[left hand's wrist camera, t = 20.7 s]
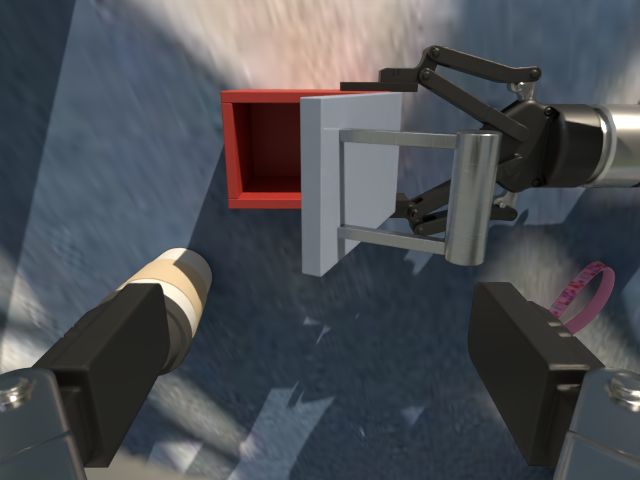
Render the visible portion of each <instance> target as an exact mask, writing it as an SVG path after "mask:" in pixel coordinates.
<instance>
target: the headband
mask: <svg viewBox="0 0 640 480" xmlns="http://www.w3.org/2000/svg"><path fill="white" fill-rule="evenodd" d="M602 270H603V277H602V281H601V284H600V286H599V288H598V290H597V292H596V294H595V296H594V297H593V299H592V300H591V301H590V303H589V304H588V305H587V306H586V307H585V308H584V309H583V310H582V311H581V312H580V313H579V314H578V315H577V316H576V317H575V318H573V319H572V320H571V321H569V322H568V323H566V324H565V325H563V326H565V327H566V328H567V329H568V330H569V331H570V332H571V333H572V334H574V333H576V332H578V331H579V330H580V329H582V328H583V327H584V326H586V325H587V324H588V323H589V322H590V321H591V320H592V319H593V318H594V317H595V316H596V315H597V314H598V313H599V312H600V311H601V309H602V308H603V306H604V305H605V303H606V302H607V300H608V298H609V296H610V294H611V292H612V289H613V286H614V282H615V274H614V271H613V270H612V269H611V268H609V267H608V266H606V265H605V264H603V263H602V262H600V261H594V262H592V263H590V264H589V265H587V266H586V267H585V268H584V269H583V270H582V271H581V272H580V273H579V274H578V275H577V276H576V277H575V278H574V279H573V280H572V282H571V283H570V284H569V285H568V286H567V288H566V289H565V290H564V291H563V292H562V294H561V295H560V296H559V298H558V299H557V300H556V301H555V303H554V304H553V305H552V307H551V308H550V309H549V311H550V312H551V313H552V314H553V315H554V316H555V317H556V318H557V319H558V318H559V317H560V315H561V314H562V313H563V311H564V310H565V309H566V308H567V306H568V305H569V304H570V303H571V301H572V300H573V299H574V298H575V296H576V295H577V294H578V293H579V292H580V291H581V289H582V288H583V287H584V286H585V285H586V284H587V283H588V282H589V281H590V280H591V279H592V278H593V277H594V276H595V275H596V274H598V273H599V272H601V271H602Z"/></svg>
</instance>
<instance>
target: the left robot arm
mask: <svg viewBox="0 0 640 480" xmlns="http://www.w3.org/2000/svg"><path fill="white" fill-rule="evenodd" d="M169 349H170V334H169V327H168V320H167V313H166V305H165V298H164V292H163V288H162V286H161V284H159V283H128V284H126V285H125V286H124V287H123V288H122V289H121V290H120V291H119V293H118V294H117V295H116V296H115V297H114V298H113V299H112V300H111V301H110V302H105V303H103V304H101V305H99V306H97V307H96V308H94V309H92V310H90V311H88V312H87V313H86V314H85V315H84V316H83V317H82V318H81V319H80V320H79V321H77V322H76V323H75V324H74V327H71V328H70V329H69V330H68V331H67V332H66V333H65V334H64V338H60V339H59V340H58V341H57V342H56V343H55V344H54V345H53V346H52V347H51V348H50V349H49V350H48V351H47V352H46V353H45V354H44V355H43V356H42V357H41V358H40V359H39V360H38V361H37V362H36V363H35V364H34V365H33V366H32V367H30V368H22V369H17V370H13V371H10V372H6V373H4V374H1V375H0V480H87V477H86V474H85V471H84V468H85V467H86V468H89V467H91V468H92V467H93V468H96V467H98V468H103V467H109V465H110V463H111V461H112V459H113V458H114V456H115V454H116V452H117V450H118V448H119V447H120V445H121V443H122V441H123V439H124V437H125V436H126V434H127V432H128V430H129V428H130V427H131V425H132V423H133V421H134V419H135V417H136V416H137V414H138V412H139V410H140V408H141V407H142V405H143V403H144V401H145V399H146V397H147V396H148V394H149V392H150V390H151V388H152V387H153V385H154V383H155V381H156V379H157V377H158V376H159V374H160V372H161V370H162V368H163V366H164V365H165V363H166V361H167V358H168V355H169ZM468 350H469V355H470V358H471V361H472V363H473V364H474V366H475V368H476V370H477V372H478V374H479V376H480V377H481V379H482V381H483V383H484V385H485V387H486V388H487V390H488V392H489V394H490V396H491V398H492V399H493V401H494V403H495V405H496V407H497V409H498V411H499V412H500V414H501V416H502V418H503V420H504V422H505V423H506V425H507V427H508V429H509V431H510V433H511V434H512V436H513V438H514V440H515V442H516V444H517V446H518V447H519V449H520V451H521V453H522V455H523V457H524V458H525V460H526V462H527V464H528V466H552V467H553V469H554V470H555V474H554V477H553V480H640V375H639V374H636V373H634V372H630V371H627V370H623V369H618V368H610V367H605V366H604V365H603V364H602V363H601V362H600V361H599V360H598V359H597V358H596V357H595V356H594V355H593V354H592V353H591V352H590V351H589V350H588V349H587V348H586V347H585V346H584V345H583V344H582V343H581V342H580V341H579V340H578V339H577V338H576V337H573V334H572V333H571V332H570V331H569V330H568V329H567V328H566V327H565V326H563V324H562V323H561V322H560V321H559V320H558V319H557V318H556V317H555V316H554V315H553V314H552V313H551V312H550V311H548V310H547V309H545V308H543V307H541V306H539V305H538V304H536V303H534V302H532V301H527V300H526V299H525V298H524V297H523V296H522V295H521V294H520V293H519V292H518V291H517V289H516V288H515V287H514V286H513V285H512V284H511V283H509V282H479V283H477V285H476V286H475V289H474V295H473V302H472V310H471V317H470V324H469V332H468Z"/></svg>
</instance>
